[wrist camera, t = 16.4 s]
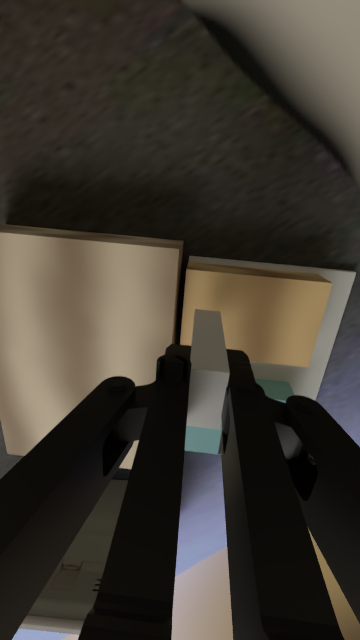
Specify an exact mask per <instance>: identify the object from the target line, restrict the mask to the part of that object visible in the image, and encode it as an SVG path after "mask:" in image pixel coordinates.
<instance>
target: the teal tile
mask: <svg viewBox="0 0 360 640" xmlns="http://www.w3.org/2000/svg"><path fill="white" fill-rule="evenodd" d="M255 381H256V383H257V384H259V385H260V386H261V387H262V388H263V390H264V392H265V395H266V396H268V397H269V398H272V399H274V400H277V401H281V402H284V403H286V399H287V398H288V397H290V396H293V395H294V393H293V391H292V388H291V386H290V384H289V382H282V381H272V380H263V379H255ZM221 433H222V421H221V427H220V430H218V429H210V428H202V427H193V426H186V437H185V451H193V452H201V453H210V454H218V450H219V444H220V438H221ZM218 455H221V454H218Z"/></svg>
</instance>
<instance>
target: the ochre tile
mask: <svg viewBox="0 0 360 640" xmlns="http://www.w3.org/2000/svg"><path fill="white" fill-rule="evenodd" d="M332 284H333V283H332V282H330V281H328V280H327V279H325V278H324V277H322V276H320V275H319V274H313V273H302V272H292V271H281V270H270V269H259V268H249V267H238V266H227V265H216V264H206V263H195V262H188V266H187V269H186V280H185V292H184V303H183V315H182V326H181V338H180V345H189V346H191V341H192V332H193V322H194V313H195V309H201V310H211V311H220V312H221V319H222V325H223V332H224V338H225V345H226V349H233V350H242V351H244V352H245V353H246V354H247V355H248V357H249V361H254V362H263V363H272V364H282V365H291V366H301V367H309V364H310V360H311V357H312V353H313V350H314V346H315V343H316V339H317V336H318V333H319V329H320V326H321V322H322V319H323V315H324V312H325V308H326V305H327V302H328V298H329V295H330V291H331V288H332Z"/></svg>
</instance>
